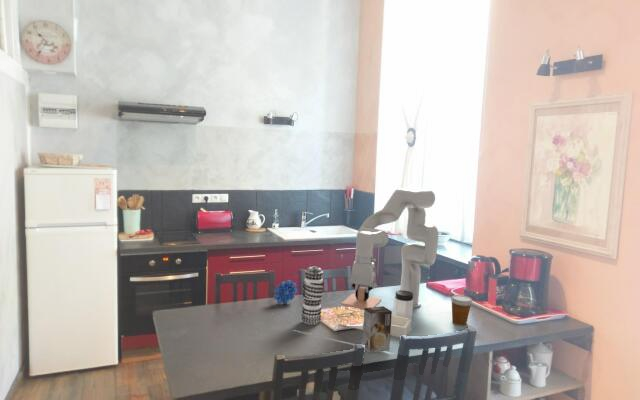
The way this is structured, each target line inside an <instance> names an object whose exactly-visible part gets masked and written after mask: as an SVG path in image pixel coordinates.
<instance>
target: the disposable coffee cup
mask: <svg viewBox="0 0 640 400" xmlns="http://www.w3.org/2000/svg"><path fill="white" fill-rule="evenodd" d="M450 301H451V314H452V315H451V317H452V320H451V321H452V323H453V324H454V325H457V326H467V323H468V319H469V314H470V310H471V306H472V304H473V301H472V298H471V297H469V296H466V295H462V294H461V295H460V294H455V295H454V294H453V295H452V296H451V298H450Z"/></svg>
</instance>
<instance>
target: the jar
mask: <svg viewBox="0 0 640 400" xmlns="http://www.w3.org/2000/svg"><path fill="white" fill-rule="evenodd" d="M393 300H394V301H393V303H394V304H393V312H392V315H395V316H400V317H405V318H409V319H412V318H413V309H414V308H413V293H412V292H409V291H404V290H396V291H395V296H394V299H393ZM412 320H413V319H412Z"/></svg>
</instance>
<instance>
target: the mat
mask: <svg viewBox="0 0 640 400" xmlns="http://www.w3.org/2000/svg"><path fill="white" fill-rule="evenodd" d="M347 328H352V329H357V330H361V331H363V325H362V326H348V327H347Z"/></svg>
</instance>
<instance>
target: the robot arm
mask: <svg viewBox="0 0 640 400" xmlns="http://www.w3.org/2000/svg"><path fill="white" fill-rule="evenodd" d="M435 202H436V194H435V193H434V192H433V190H430V189H424V188H423V189H422V188H417V187H415V188H414V187H405V188H397V189H395V190H394V191H393V193H392V194H391V195H390V197H389V199H388V201H387V202H386V203H385V205H384V207H383V208H382V209H380V210H378V211H376V212H374V213H372V214H371V215H370V216H368V217H367V218H366V219H365V220H364V221H363V223H362V224H361V225H360V227H359V229H358V230H357V233H356V239H355V241H356V242H355V258H354V259H355V260H354V261H353V264H352V268H351V273H350V275H351V277H350V279H349V280H348V282H347V283H348V284H350V286H351V287H352V288H353V289H354V291H355V294H356V295H355V297H356V300H358V288H359V287H361V286H364V287H365V288H366V291H365V293H364V301H366V300H367V299H368V298H369V297H370V292H371V290H373V289H376V288H378V285H377V283H376V267H375V266H376V265H375V262H377V261H376V260H377V259H376V258H374V248H381V247H384V246H386V245H387V244H388V242H389V239H390V237H389V234H388V233H387V232H386V231H385V230H383V229H378V228H377V227H378V226H383V225H386V224H390V223H394V222H396V221H398V220H399V219H400V217H401V215H402V213H403V212H404V211H405V209H407V211H408V214H407V224H406V237H407V239H409V241H414V242H406V243H404V244H403V246H402V247H401V252H400V253H401V278H400V290H404V291H409V292H412V293H413V309H417V308H419V307H421V306H422V302H421V301H420V300H419V297H420V296H419V295H420V287H421V275H422V272H421V271H422V270H421V267H420V265H421V266H426V267H427V266H428V267H429V266H432V265H434V264H435V262H436V259H437V251H438V243H439V230H438V228H437V227H436V226H435V225H433V224H431V223H430V224H429V223H426V210H425V209H427V208H428V209H429V208H431V207H432V206H433V205H435ZM415 242H417V243H415ZM418 242H419V243H423V244H419V243H418Z"/></svg>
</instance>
